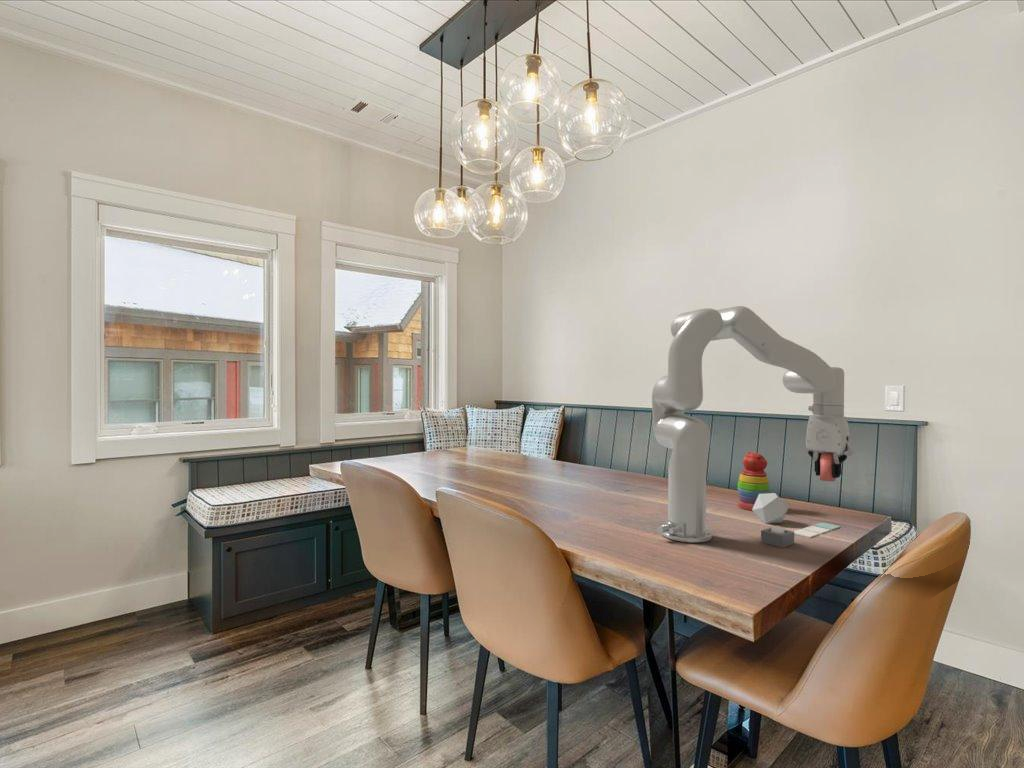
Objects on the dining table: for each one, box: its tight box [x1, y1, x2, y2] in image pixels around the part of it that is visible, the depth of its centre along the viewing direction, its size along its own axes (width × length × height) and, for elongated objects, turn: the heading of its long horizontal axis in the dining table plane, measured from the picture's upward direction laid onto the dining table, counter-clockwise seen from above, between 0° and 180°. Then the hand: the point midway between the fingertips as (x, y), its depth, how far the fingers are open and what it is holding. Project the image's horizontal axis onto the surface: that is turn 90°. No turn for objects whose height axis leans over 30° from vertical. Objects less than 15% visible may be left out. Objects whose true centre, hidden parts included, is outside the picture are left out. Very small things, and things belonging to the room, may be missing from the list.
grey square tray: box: [760, 526, 795, 549], centre depth 139 cm, size 6×6×3 cm
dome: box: [771, 525, 785, 534], centre depth 139 cm, size 3×3×4 cm
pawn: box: [819, 452, 837, 482], centre depth 153 cm, size 4×4×8 cm
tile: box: [812, 521, 841, 531], centre depth 154 cm, size 5×5×1 cm
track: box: [792, 525, 831, 538], centre depth 149 cm, size 11×5×1 cm, turn 126°
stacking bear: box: [737, 451, 770, 511], centre depth 175 cm, size 11×10×18 cm
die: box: [751, 492, 790, 525], centre depth 159 cm, size 8×9×10 cm
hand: (827, 475), depth 154 cm, fingers closed on pawn, 3 cm apart
